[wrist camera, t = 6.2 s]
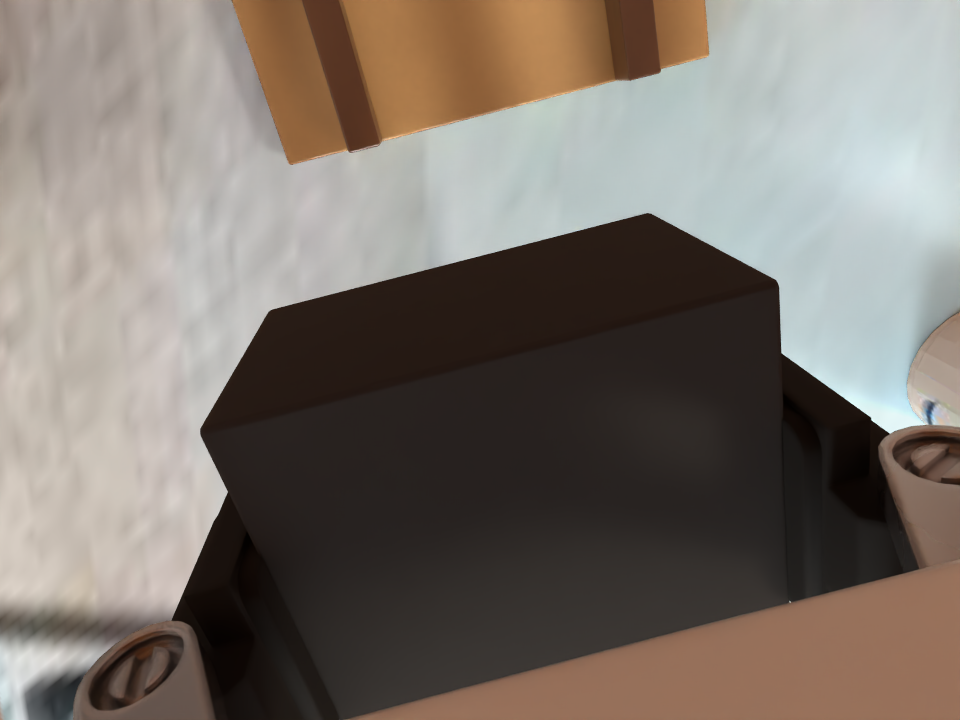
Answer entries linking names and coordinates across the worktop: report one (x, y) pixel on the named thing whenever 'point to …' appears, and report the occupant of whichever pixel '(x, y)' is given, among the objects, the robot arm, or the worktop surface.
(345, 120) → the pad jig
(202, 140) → the worktop surface
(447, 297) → the dark grey square block
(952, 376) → the spray can
